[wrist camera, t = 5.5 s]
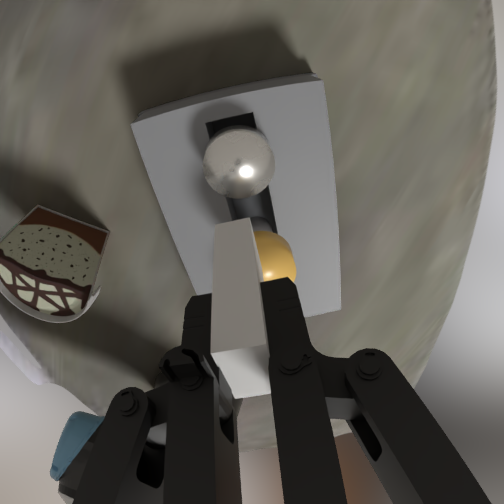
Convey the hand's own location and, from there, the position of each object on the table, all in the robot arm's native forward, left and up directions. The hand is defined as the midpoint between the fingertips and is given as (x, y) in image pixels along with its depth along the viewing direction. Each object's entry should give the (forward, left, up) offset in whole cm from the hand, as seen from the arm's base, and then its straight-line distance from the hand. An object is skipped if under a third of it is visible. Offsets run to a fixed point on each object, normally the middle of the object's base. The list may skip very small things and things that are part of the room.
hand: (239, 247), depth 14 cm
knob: (0, 0, -14) cm, 14 cm away
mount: (0, -7, -16) cm, 18 cm away
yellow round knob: (0, -7, -11) cm, 13 cm away
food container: (-21, -6, -17) cm, 27 cm away
